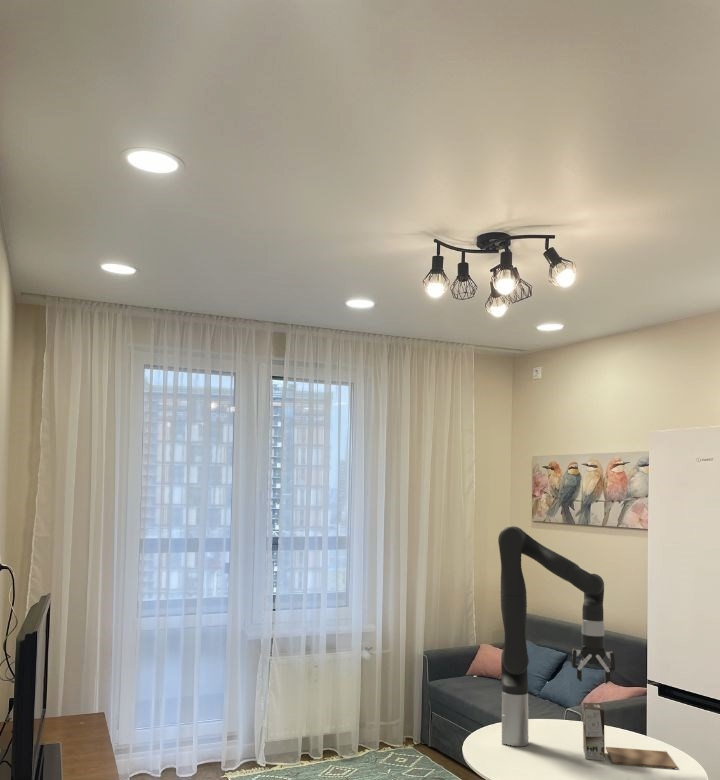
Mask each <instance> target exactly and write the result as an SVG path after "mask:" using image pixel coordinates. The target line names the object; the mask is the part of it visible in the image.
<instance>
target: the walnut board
mask: <svg viewBox="0 0 720 780" xmlns="http://www.w3.org/2000/svg"><path fill="white" fill-rule="evenodd" d="M606 750H607V751H606ZM605 751H606V753H607V754H608V757H609V759H610V762H611V763H613V764H612V765H620V766H622V765H623V766H633V767H643V766H648V767H647V768H655V767H664V768H663V769H667V768H677V769H678V767H677V766H678V765H676V764H675V762H674V760H673V759H672V757H671V756H670V754H669V753H668V752H667V751H666V750H665V751H664V750H663V751H662V750H653V749H651V750H650V749H649V750H648V749H639V748H625V747H616V746H615V747H613V746H605Z"/></svg>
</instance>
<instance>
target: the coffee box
mask: <svg viewBox="0 0 720 780" xmlns="http://www.w3.org/2000/svg"><path fill="white" fill-rule="evenodd" d="M582 737H583V740H582V741H583V742H582V744H583V746H582V747H583V753H584V757H585V759H587V760H595V761H602V760H603V761H605V759H606V758H605V757H606V756H605V754H606V753H605V751H606V746H605V709H604V707H603V705H602V703H598V702H597V703H596V702H582ZM603 761H602V762H603Z"/></svg>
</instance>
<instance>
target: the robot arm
mask: <svg viewBox="0 0 720 780" xmlns="http://www.w3.org/2000/svg"><path fill="white" fill-rule="evenodd" d="M497 539H498V543H497V544H498V548H499V556H500V609H501V610H500V611H501V618H502V624H503V629H504V644H503V645H504V646H503V647H504V648H503V649H502V652H501V657H500V659H501V660H500V661H501V662H500V665H501V673H500V675H501V744H502V745H506V744H507V745H506V746H510V745H511V746H510V747H525V746H528V745H529V681H528V666H529V661H530V660H529V654H528V647H527V639H526V637H527V635H526V629H527V628H526V625H527V615H528V614H527V607H528V606H527V605H528V601H527V588H526V582H525V578H524V574H523V569H522V555H525V557H526V556H527V557H528V558H530V559H532V560H534V561H535V562H537V563H538V564H539V565H541V566H542V567H544V568H545V569H546V570H548V571H549V572H551V573H552V574H553V575H554V576H556V577H558V578H560V579H562V580H563V581H566V582H568V583H570V584H571V585H572V586H573V587H575V588H577V589H578V590H580V591H581V592H582V593H583V604H582V611H581V612H582V616H581V617H582V620H581V629H580V630H581V649H575V648H572V650H571V651H572V652H571V667H572V668H574V669H576V678H577V680H578V681H579V682H583V681H582V679H583V678H582V677H583V676H582V673H583V672H582V669H583V668H584V667H585V666H586V664H588V665H592V664H593V665H600V664H601V666H602V667H603V668H604V673H603V674H604V679H603V680H604V684H605V685H606V684H608V683H609V682H610V673H611V672H613V671H614V672H615V671H616V661H615V658H616V657H615V653H614V652H613V651H606V649H605V622H604V595H605V582H604V579H603V578H602V577H601V576H600V575H599V574H596V573H590V572H589V571H586V570H584V569H583V568H581V567H580V566H579V565H578V564H577V563H576V562H573V561H572V560H570V559H568V558H567V557H565V556H563V555H561V554H559V553H557V552H556V551H553V550H552V549H550V548H547V547H546V546H544V545H543V544H542V543H540V542H539V541H537V540H535V539H534V538H533V537H532V536H530V535H529V534H528V533H526V532H525V531H524V530H523V529H522V528H520V527H518V526H513V525H512V526H508V527H504V528H503V529H502V530H501V531H500V532H499V534H498V537H497ZM579 655H581V656H582V658H581V659H580V662H578V664H577V657H579ZM606 656H607V658H608V659H609V665H610V666H607V664H606V663H605V662H604V661H605V660H604V659H605V658H606Z"/></svg>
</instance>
